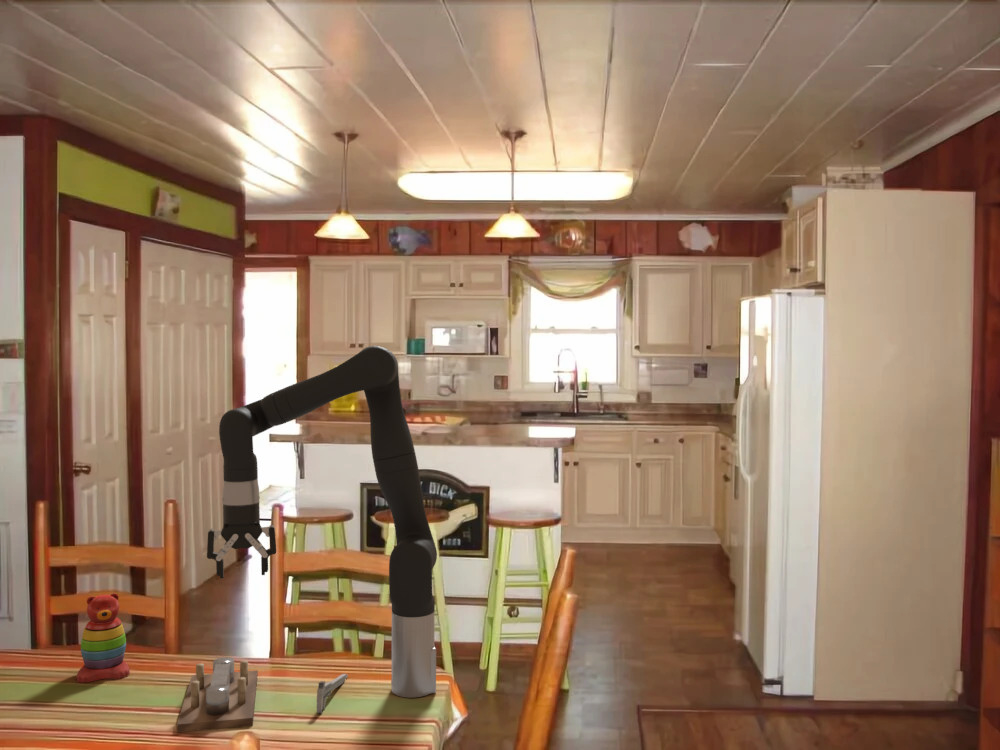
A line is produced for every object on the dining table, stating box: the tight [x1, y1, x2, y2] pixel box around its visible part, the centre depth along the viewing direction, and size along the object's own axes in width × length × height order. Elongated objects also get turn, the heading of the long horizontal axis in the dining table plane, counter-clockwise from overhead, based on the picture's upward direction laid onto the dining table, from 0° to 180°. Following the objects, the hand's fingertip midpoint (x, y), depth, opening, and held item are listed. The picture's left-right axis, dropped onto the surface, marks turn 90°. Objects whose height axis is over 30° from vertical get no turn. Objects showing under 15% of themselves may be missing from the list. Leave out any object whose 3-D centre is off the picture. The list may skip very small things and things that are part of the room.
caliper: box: [316, 673, 349, 714], centre depth 187 cm, size 20×1×6 cm, turn 175°
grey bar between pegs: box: [206, 656, 235, 716], centre depth 182 cm, size 4×20×4 cm, turn 13°
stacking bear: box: [76, 593, 131, 684], centre depth 198 cm, size 11×10×18 cm
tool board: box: [176, 659, 259, 733], centre depth 182 cm, size 14×26×6 cm, turn 14°
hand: (242, 575), depth 188 cm, fingers open, 8 cm apart
